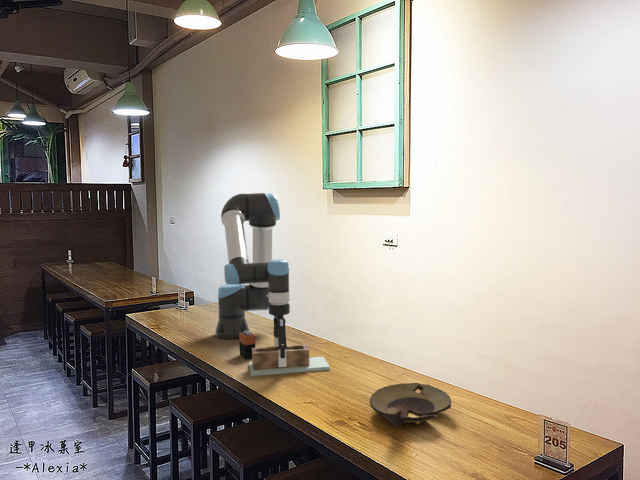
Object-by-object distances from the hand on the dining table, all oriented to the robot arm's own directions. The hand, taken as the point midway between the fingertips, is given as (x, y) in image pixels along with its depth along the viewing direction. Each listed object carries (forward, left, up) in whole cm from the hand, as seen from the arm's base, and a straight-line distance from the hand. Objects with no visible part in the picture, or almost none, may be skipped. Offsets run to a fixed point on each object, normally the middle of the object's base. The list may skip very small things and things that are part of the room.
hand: (280, 360), depth 193 cm
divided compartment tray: (0, 0, -2) cm, 2 cm away
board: (0, +3, -3) cm, 4 cm away
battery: (-17, -11, -3) cm, 20 cm away
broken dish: (+50, +29, -3) cm, 58 cm away
